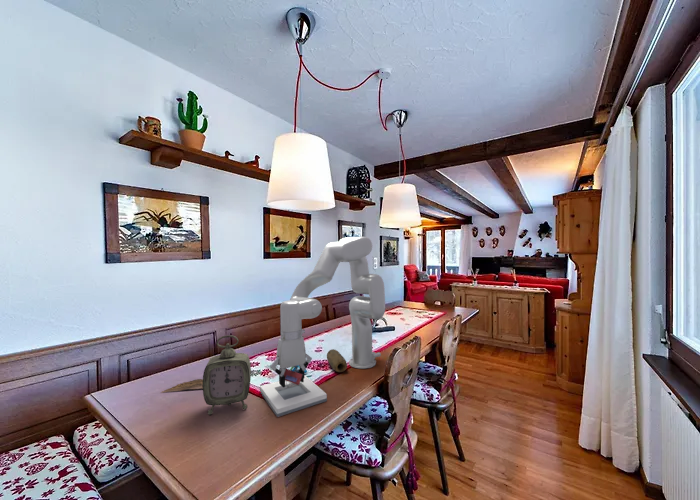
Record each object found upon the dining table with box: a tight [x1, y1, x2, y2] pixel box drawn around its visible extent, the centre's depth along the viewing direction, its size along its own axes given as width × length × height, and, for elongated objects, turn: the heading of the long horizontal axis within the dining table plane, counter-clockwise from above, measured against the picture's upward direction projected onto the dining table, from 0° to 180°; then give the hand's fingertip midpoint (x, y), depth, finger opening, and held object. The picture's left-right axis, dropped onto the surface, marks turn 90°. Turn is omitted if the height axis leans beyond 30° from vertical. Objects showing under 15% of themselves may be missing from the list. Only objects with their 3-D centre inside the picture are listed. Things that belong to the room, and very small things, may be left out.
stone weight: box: [326, 349, 348, 373], centre depth 135 cm, size 15×7×7 cm, turn 23°
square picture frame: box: [259, 374, 328, 418], centre depth 108 cm, size 18×20×2 cm
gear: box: [290, 365, 308, 374], centre depth 129 cm, size 11×6×10 cm
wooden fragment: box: [160, 378, 203, 394], centre depth 119 cm, size 26×11×1 cm, turn 111°
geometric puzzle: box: [284, 366, 303, 387], centre depth 108 cm, size 7×7×8 cm
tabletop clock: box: [202, 334, 252, 416], centre depth 101 cm, size 14×9×25 cm, turn 105°
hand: (292, 383), depth 108 cm, fingers closed on geometric puzzle, 6 cm apart
